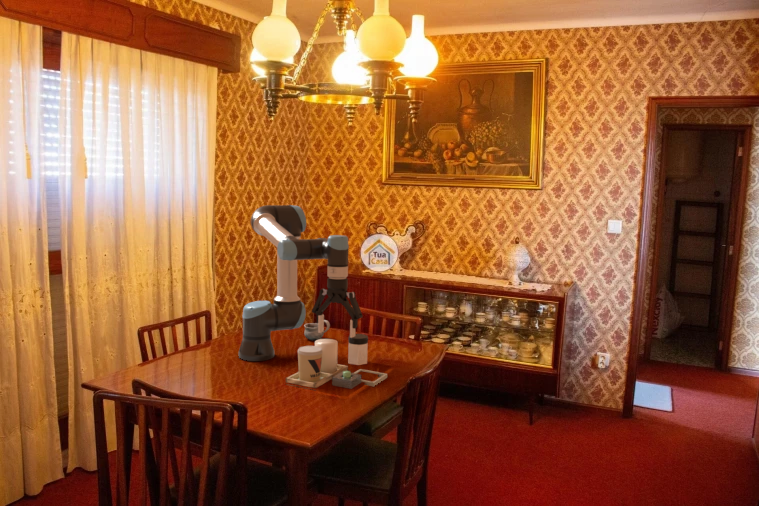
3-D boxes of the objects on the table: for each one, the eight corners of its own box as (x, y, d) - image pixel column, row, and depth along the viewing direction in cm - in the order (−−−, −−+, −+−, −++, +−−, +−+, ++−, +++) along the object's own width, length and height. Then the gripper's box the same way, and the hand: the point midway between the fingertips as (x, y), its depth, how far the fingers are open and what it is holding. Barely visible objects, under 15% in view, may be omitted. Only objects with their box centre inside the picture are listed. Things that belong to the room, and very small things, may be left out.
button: (341, 382, 226) (341, 372, 225) (345, 380, 228) (345, 370, 228) (348, 384, 224) (348, 373, 224) (352, 381, 227) (352, 371, 227)
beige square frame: (345, 381, 232) (345, 377, 232) (359, 372, 243) (360, 368, 243) (374, 386, 227) (374, 382, 227) (387, 377, 238) (387, 373, 238)
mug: (306, 336, 296) (307, 316, 294) (332, 338, 294) (332, 317, 293) (301, 341, 286) (302, 320, 285) (327, 343, 284) (328, 322, 283)
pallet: (285, 384, 226) (285, 378, 226) (319, 366, 249) (319, 360, 248) (315, 390, 221) (315, 384, 220) (347, 372, 243) (347, 366, 243)
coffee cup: (311, 385, 223) (312, 353, 221) (291, 380, 228) (292, 349, 226) (326, 379, 231) (327, 348, 229) (307, 374, 236) (308, 344, 234)
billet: (309, 372, 238) (310, 342, 236) (321, 366, 246) (322, 337, 244) (329, 376, 234) (330, 346, 233) (341, 370, 242) (341, 340, 241)
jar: (353, 368, 248) (354, 339, 247) (343, 362, 255) (344, 335, 254) (371, 365, 253) (372, 337, 252) (361, 360, 260) (362, 332, 259)
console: (332, 387, 225) (332, 377, 224) (342, 381, 232) (342, 371, 231) (351, 391, 221) (351, 380, 221) (360, 385, 229) (361, 374, 228)
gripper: (303, 275, 224) (302, 332, 226) (362, 281, 213) (361, 340, 215) (314, 273, 231) (313, 328, 233) (372, 279, 220) (371, 336, 222)
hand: (336, 334), depth 224 cm, fingers open, 13 cm apart
